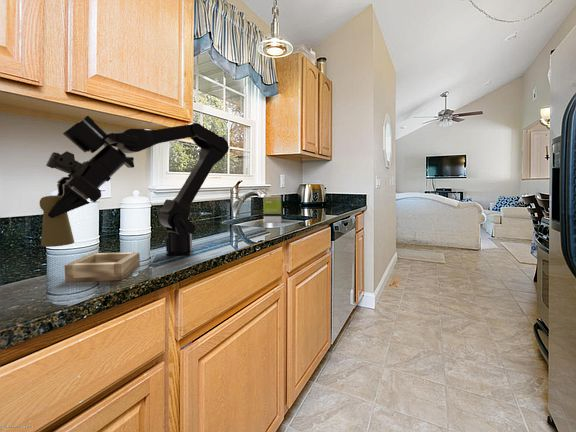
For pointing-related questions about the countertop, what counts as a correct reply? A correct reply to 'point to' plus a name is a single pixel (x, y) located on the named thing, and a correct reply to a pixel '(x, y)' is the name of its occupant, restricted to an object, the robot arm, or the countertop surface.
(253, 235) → the countertop surface
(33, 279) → the countertop surface
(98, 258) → the wooden tray
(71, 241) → the brown toast slice
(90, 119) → the robot arm
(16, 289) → the countertop surface
